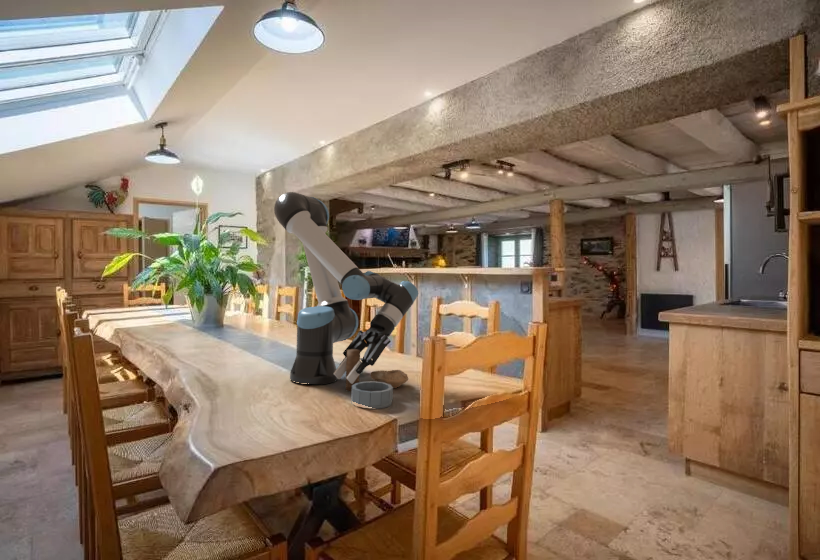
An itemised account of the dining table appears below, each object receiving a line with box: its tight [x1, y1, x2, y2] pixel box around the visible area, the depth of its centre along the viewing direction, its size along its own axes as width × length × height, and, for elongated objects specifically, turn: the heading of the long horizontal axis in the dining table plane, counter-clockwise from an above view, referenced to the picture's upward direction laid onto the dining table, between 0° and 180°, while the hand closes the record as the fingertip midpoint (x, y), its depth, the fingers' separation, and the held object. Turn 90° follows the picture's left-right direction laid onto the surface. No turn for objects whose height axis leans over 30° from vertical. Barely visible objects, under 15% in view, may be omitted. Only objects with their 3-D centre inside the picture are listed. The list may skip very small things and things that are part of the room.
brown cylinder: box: [345, 349, 361, 392], centre depth 131 cm, size 4×4×12 cm
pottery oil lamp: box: [370, 369, 409, 389], centre depth 138 cm, size 9×12×7 cm
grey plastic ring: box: [350, 380, 394, 410], centre depth 119 cm, size 11×11×4 cm
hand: (342, 378), depth 129 cm, fingers open, 6 cm apart
